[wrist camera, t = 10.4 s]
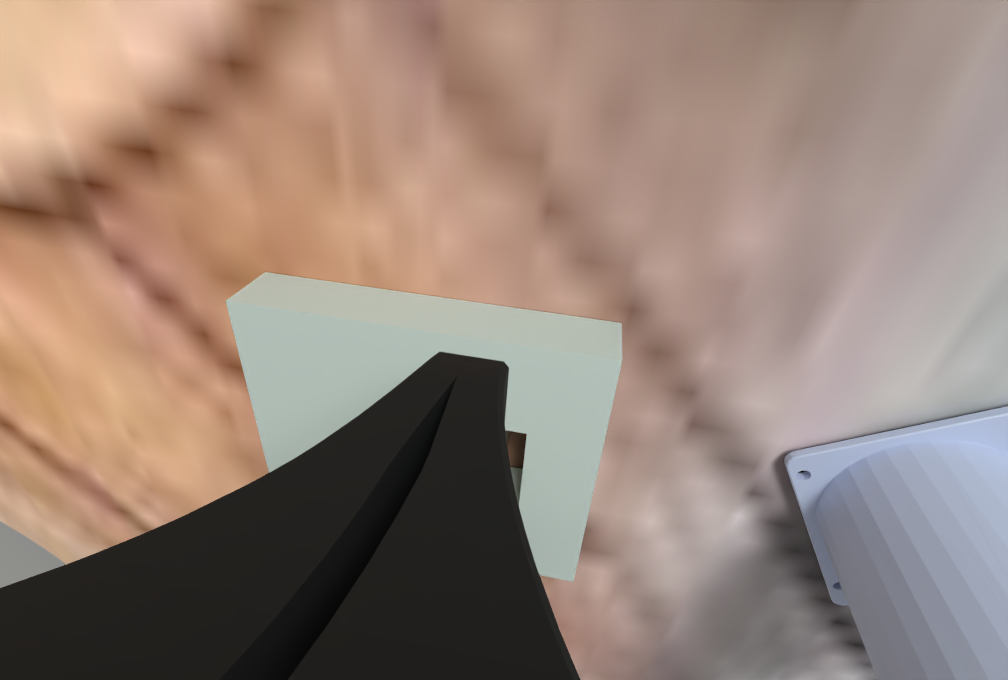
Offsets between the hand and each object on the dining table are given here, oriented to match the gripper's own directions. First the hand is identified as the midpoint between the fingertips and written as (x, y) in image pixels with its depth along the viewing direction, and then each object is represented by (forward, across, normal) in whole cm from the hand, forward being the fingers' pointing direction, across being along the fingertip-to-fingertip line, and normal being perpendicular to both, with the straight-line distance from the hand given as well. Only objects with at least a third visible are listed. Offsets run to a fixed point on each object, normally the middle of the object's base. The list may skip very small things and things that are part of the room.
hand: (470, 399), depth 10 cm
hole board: (+9, +3, +9) cm, 14 cm away
